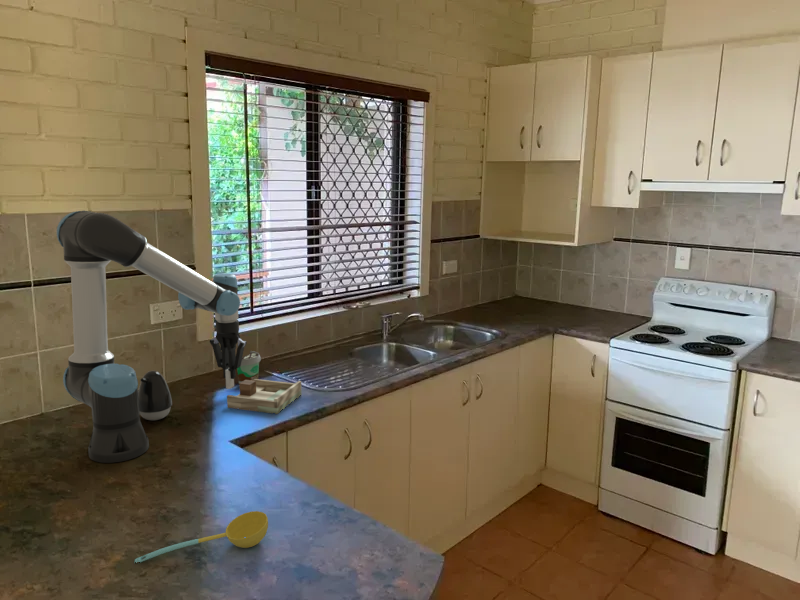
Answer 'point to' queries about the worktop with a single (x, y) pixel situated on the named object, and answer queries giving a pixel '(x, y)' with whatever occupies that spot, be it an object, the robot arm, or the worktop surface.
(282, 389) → the box
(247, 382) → the walnut block
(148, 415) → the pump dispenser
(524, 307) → the worktop surface
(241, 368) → the food container
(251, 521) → the ladle
